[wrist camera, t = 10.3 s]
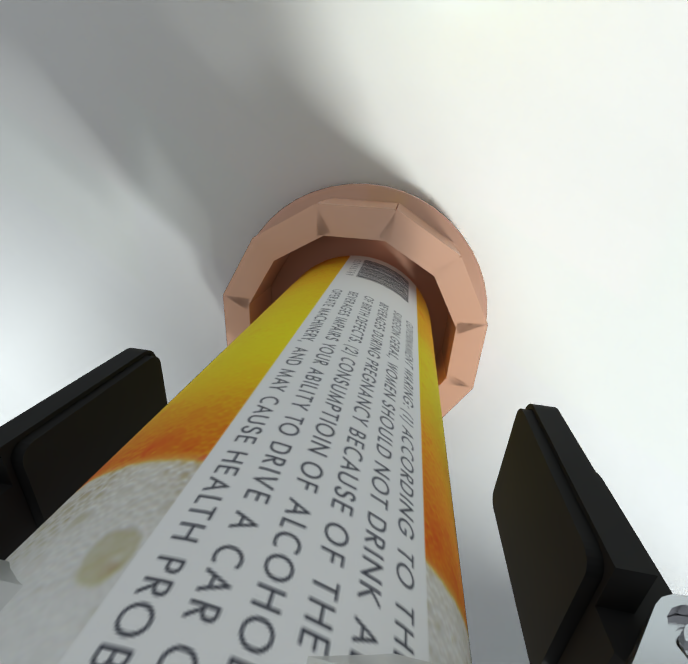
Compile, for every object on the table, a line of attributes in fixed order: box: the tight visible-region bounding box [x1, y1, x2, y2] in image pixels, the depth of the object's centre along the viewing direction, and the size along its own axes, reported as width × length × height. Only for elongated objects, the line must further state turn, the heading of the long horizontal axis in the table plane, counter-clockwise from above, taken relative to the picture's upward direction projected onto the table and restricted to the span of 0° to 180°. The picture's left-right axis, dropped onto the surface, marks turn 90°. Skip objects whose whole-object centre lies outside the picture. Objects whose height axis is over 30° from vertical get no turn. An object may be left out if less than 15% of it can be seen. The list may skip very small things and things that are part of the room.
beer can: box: [0, 255, 472, 664], centre depth 9 cm, size 6×6×15 cm
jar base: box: [223, 184, 488, 418], centre depth 15 cm, size 11×11×3 cm
